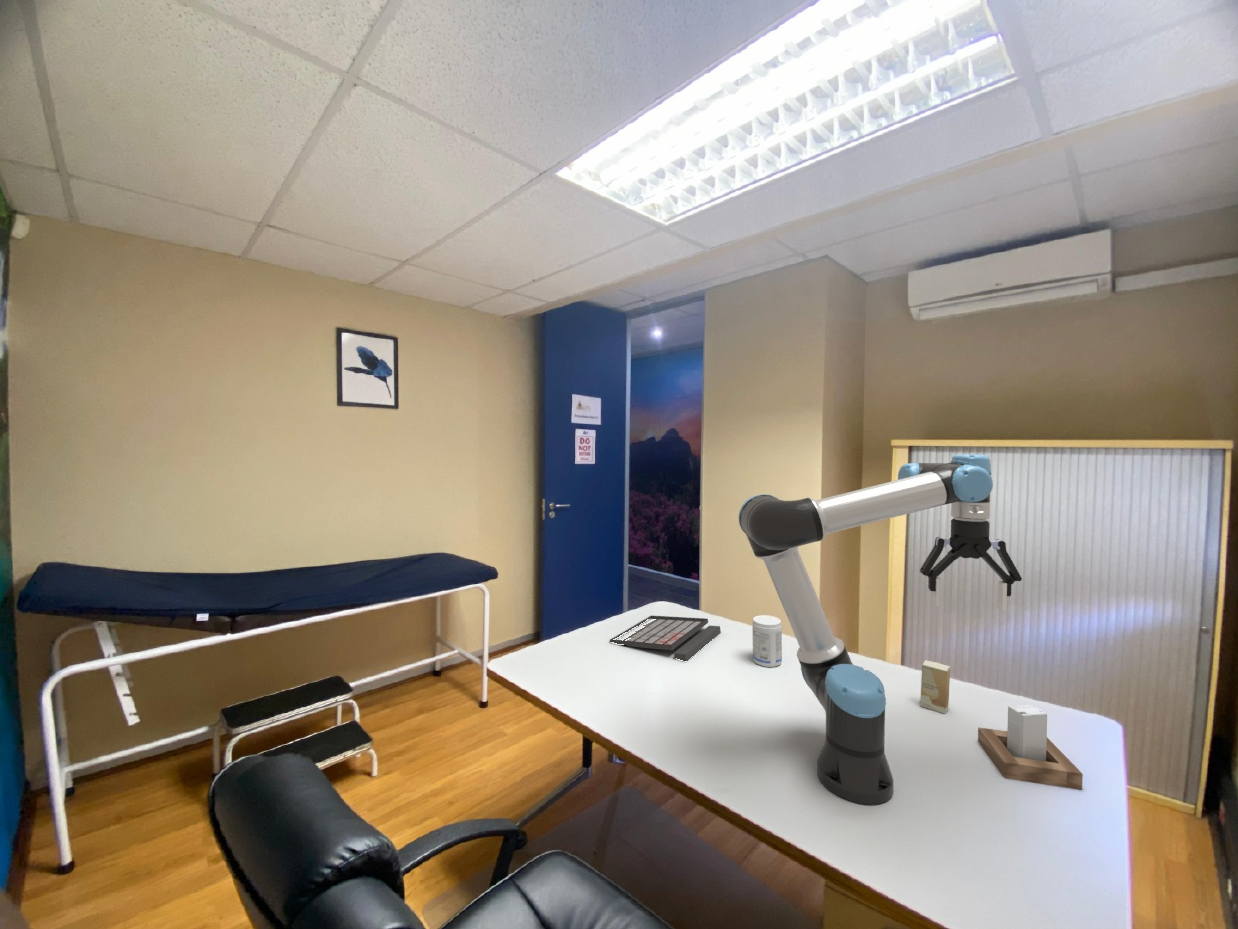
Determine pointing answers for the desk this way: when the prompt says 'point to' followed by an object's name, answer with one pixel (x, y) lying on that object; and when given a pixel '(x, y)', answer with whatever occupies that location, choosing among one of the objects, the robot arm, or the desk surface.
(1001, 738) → the socket block
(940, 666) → the skincare box
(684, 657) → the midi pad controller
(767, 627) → the supplement tub
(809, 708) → the desk surface
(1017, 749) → the skincare box
